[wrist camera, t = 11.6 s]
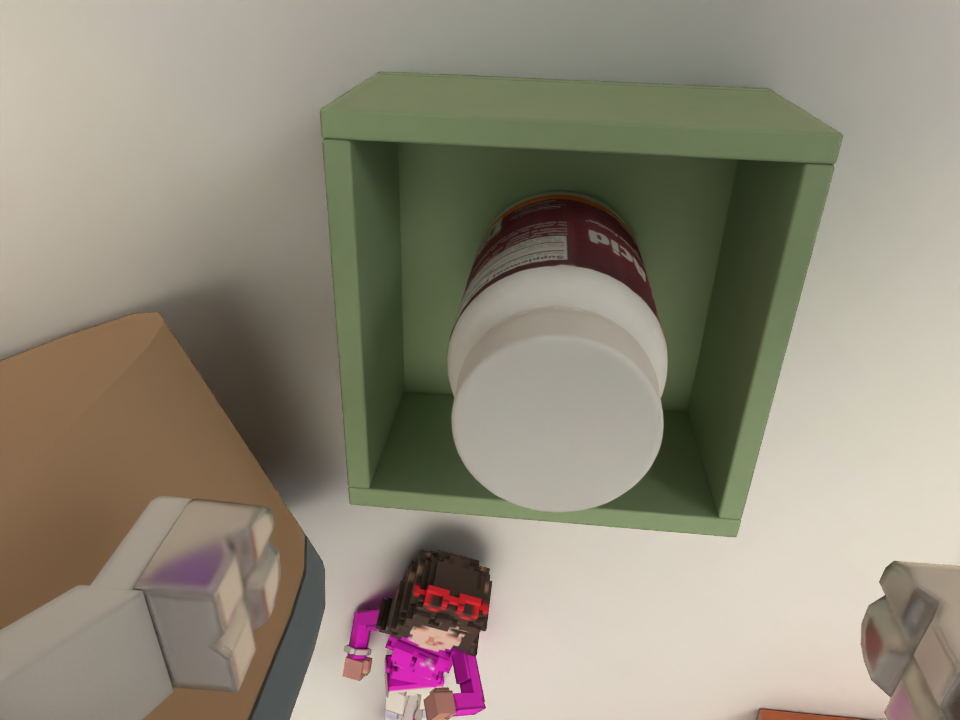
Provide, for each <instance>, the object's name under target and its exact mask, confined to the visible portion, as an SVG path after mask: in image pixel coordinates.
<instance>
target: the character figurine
mask: <svg viewBox="0 0 960 720" xmlns="http://www.w3.org/2000/svg"><path fill="white" fill-rule="evenodd" d="M489 571H490V568H486V567H482V566H479V561H478V560H474V559H470V558H467V557H463V556H459V555H456V554H452V553H448V552H445V551H441V550H439V551H437V552H433V551H431V552H428V551H424V550H421V552H420V554H419V557H418V559H417V561H416V562H414V561H412V562H411V565H409V567H408V570H407V572H406V574H405V577H404V579H403V581H401V582H400V584H399V586H398V589H397V591H396V593H395V596H394V598H393V599H391V598H387V599H384V598H383V599H382V602H381V606H380V609H374V610H365V611H358V613H355V614H354V620H353V626H352V632H351V637H350V643H349V645H347V646H345V648H344V651H345V652H347V653H348V655H347V657H346V659H345V665H344V671H343V676H344V677H348V678H351V679H355V680H359V681H360V680H361V679H362V678H363V677H364V676H365V675H366V676H367V675H368V674H369V673H370V670H371V664H372V658H369V657H366V655H369V654H371V649H369V648H368V643H369V637H370V630H374V631H379V632H383V633H387V634H390V636H389V639H388V642H387V644H386V647H385V648H387V649H390V650H392V651H393V653H392V655H386V658H385V670H386V671H385V684H386V697H387V699H386V706H385V710H386V713H385V720H402V717H403V712H404V709H405V706H406V703H407V701H408V698H409V695H418V697H419V700H418V708H417V710H416V712H415V715H414V718H413V720H444V719H449V718H451V717H452V716H463V715H474V714H476V713H478V712H480V711H482V710H483V709H485V708H486V707H485V704H484V702H485V700H484V695H483V690H482V685H481V680H480V675H479V670H478V666H477V661H476V655H477V648H478V640H479V632H480V630H482V631H485V630H486V629H487V621H488V612H489V604H490V595H491V586H492V581H490V575H489ZM452 663H453V667H454V672H455V678H456V683H457V684H460V688H461V693H454V694H453V693H452V691H449V688H443V684H444V676H443V672H447V673H449V671H450V668H451V666H452Z"/></svg>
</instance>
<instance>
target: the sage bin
mask: <svg viewBox="0 0 960 720" xmlns="http://www.w3.org/2000/svg"><path fill="white" fill-rule="evenodd" d="M320 119H321V132H322V137H323V138H325V139H323V142H322V144H323V158H324V171H325V184H326V197H327V211H328V224H329V237H330V250H331V264H332V277H333V290H334V304H335V317H336V330H337V343H338V357H339V370H340V383H341V396H342V410H343V423H344V436H345V449H346V463H347V476H348V485H349V488H348V490H349V502H350V504H351V505H362V506H374V507H386V508H397V509H409V510H421V511H433V512H444V513H456V514H468V515H480V516H491V517H503V518H515V519H527V520H538V521H550V522H562V523H574V524H585V525H597V526H609V527H621V528H632V529H644V530H656V531H668V532H679V533H691V534H703V535H714V536H726V537H736V536H737V533H738V530H739V526H740V522H741V520H740V519H741V518H742V514H743V510H744V507H745V503H746V499H747V495H748V492H749V488H750V484H751V480H752V477H753V473H754V469H755V465H756V461H757V458H758V454H759V450H760V446H761V443H762V439H763V435H764V431H765V427H766V424H767V420H768V416H769V412H770V409H771V405H772V401H773V397H774V394H775V390H776V386H777V382H778V378H779V375H780V371H781V367H782V363H783V360H784V356H785V352H786V348H787V345H788V341H789V337H790V333H791V329H792V326H793V322H794V318H795V314H796V311H797V307H798V303H799V299H800V296H801V292H802V288H803V284H804V280H805V277H806V273H807V269H808V265H809V262H810V258H811V254H812V250H813V247H814V243H815V239H816V235H817V231H818V228H819V224H820V220H821V216H822V213H823V209H824V205H825V201H826V198H827V194H828V190H829V186H830V182H831V179H832V175H833V171H834V165H833V164H834V163H835V162H836V160H837V156H838V153H839V149H840V145H841V141H842V138H843V135H842V133H840V132H838V131H837V130H835V129H834V128H832V127H830V126H829V125H827V124H825V123H824V122H822V121H821V120H819V119H817V118H816V117H814V116H812V115H811V114H809V113H808V112H806V111H804V110H803V109H801V108H799V107H798V106H796V105H795V104H793V103H791V102H790V101H788V100H786V99H785V98H783V97H782V96H780V95H778V94H777V93H775V92H774V91H772V90H771V89H763V88H741V87H718V86H695V85H673V84H650V83H627V82H604V81H582V80H559V79H536V78H514V77H491V76H468V75H445V74H423V73H400V72H378V73H376V74H375V75H374V76H372V77H370V78H369V79H367V80H366V81H364V82H363V83H361V84H359V85H358V86H356V87H355V88H353V89H351V90H350V91H348V92H347V93H345V94H344V95H342V96H340V97H339V98H337V99H336V100H334V101H333V102H331V103H329V104H328V105H326V106H325V107H323V108H322V109H321V110H320ZM552 191H568V192H575V193H581V194H584V195H587V196H590V197H593V198H595V199H597V200H599V201H601V202H603V203H605V204H606V205H608V206H609V207H611V208H612V209H613V210H614V211H615V212H616V213H617V214H618V215H619V216H620V217H621V218H622V219H623V220H624V221H625V223H626V224H627V225H628V226H629V228H630V230H631V231H632V233H633V235H634V237H635V239H636V241H637V244H638V247H639V250H640V254H641V257H642V260H643V263H644V267H645V270H646V273H647V277H648V281H649V283H650V287H651V289H652V294H653V298H654V301H655V305H656V309H657V313H658V317H659V320H660V324H661V327H662V330H663V333H664V337H665V341H666V346H667V360H668V364H667V378H666V383H665V387H664V390H663V394H662V396H661V398H660V399H661V404H662V410H663V424H664V427H663V437H662V442H661V446H660V449H659V452H658V454H657V456H656V458H655V460H654V462H653V464H652V466H651V467H650V469H649V470H648V472H647V473H646V474H645V475H644V476H643V478H642V479H641V480H640V481H639V482H638V483H637V484H636V485H634V486H633V487H632V488H631V489H630V490H628V491H627V492H625V493H624V494H622V495H621V496H619V497H617V498H616V499H614V500H612V501H610V502H608V503H605V504H603V505H600V506H597V507H593V508H589V509H586V510H581V511H574V512H573V511H571V512H545V511H537V510H531V509H529V508H525V507H521V506H518V505H516V504H513V503H510V502H508V501H506V500H504V499H502V498H500V497H498V496H496V495H495V494H493V493H492V492H490V491H489V490H488V489H486V488H485V487H484V486H483V485H482V484H480V483H479V482H478V481H477V480H476V479H475V478H474V477H473V475H472V474H471V473H470V472H469V471H468V469H467V468H466V466H465V465H464V463H463V461H462V460H461V458H460V456H459V454H458V451H457V449H456V446H455V442H454V439H453V434H452V424H451V414H452V407H453V402H454V395H453V392H452V389H451V385H450V381H449V377H448V370H447V352H448V345H449V340H450V336H451V333H452V330H453V328H454V325H455V322H456V319H457V316H458V312H459V309H460V306H461V301H462V298H463V295H464V292H465V289H466V285H467V281H468V278H469V275H470V272H471V269H472V265H473V262H474V259H475V256H476V253H477V249H478V246H479V244H480V242H481V239H482V237H483V235H484V233H485V232H486V230H487V229H488V227H489V226H490V224H491V223H492V222H493V221H494V219H495V218H496V217H497V216H498V215H499V214H500V213H501V212H503V211H504V210H505V209H506V208H507V207H509V206H510V205H512V204H514V203H516V202H518V201H519V200H521V199H524V198H526V197H529V196H532V195H536V194H539V193H544V192H552Z"/></svg>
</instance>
